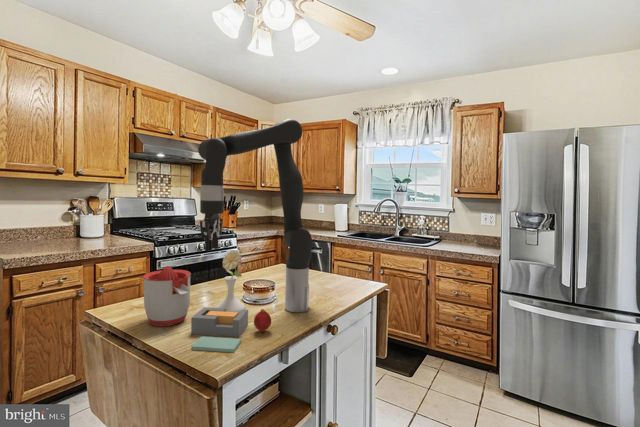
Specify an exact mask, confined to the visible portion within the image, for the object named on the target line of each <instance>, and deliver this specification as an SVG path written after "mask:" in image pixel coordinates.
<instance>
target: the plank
mask: <svg viewBox="0 0 640 427" xmlns="http://www.w3.org/2000/svg"><path fill="white" fill-rule="evenodd" d="M206 315H207V316H218V323H228V324H233V320H234V318H235V317H236V316H237V315H238V312H224V311H209V312H208V313H207V314H206Z"/></svg>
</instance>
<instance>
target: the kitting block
mask: <svg viewBox="0 0 640 427" xmlns="http://www.w3.org/2000/svg"><path fill="white" fill-rule="evenodd" d="M209 311H224V312H226V308H216V307H210V306H209V307H206V306H205V307H203V308H201V309H200V310H199V311H198V312H196V314H194V315H193V316H191V317H190V318H191V319H190V320H191V321H190V322H191V325H190V328H191V330H190V331H191V334H192V335H204V336H206V335H208V336H216V337H217V336H220V337H232V338H233V337H234V338H235V337H236V338H239V337H240V336H241V335H242V334H243V332H244V331H245V329H246V328H247V327H248V326H249V309H245V310H244V309H243V310H242V311H241V312H240V313H239V314H238V315H237V316H236V317H235V318H234V320H233V324H228V323H218V316H207V315H206V314H207V313H208V312H209Z"/></svg>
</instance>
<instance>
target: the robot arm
mask: <svg viewBox="0 0 640 427" xmlns="http://www.w3.org/2000/svg"><path fill="white" fill-rule="evenodd" d="M302 136H303V127H302V125H301V123H300V122H299V121H298V120H296V119H294V118H287V119H284V120H280V121H278V122H276V123H275V124H274V125H272V126H268V127H264V128H260V129H259V128H258V129H253V130H246V131H241V132H236V133H233V134H229V135H227V136H222V137H213V138H207V139H204V140H203V141H201V142H200V144H199V145H198V148H197V152H198V154H199V156H200V157H201V158H202V159H204V160H205V165H204V167H203V169H201V173H200V176H201V177H200V192H199V197H200V199H199V200H200V202H199V203H200V204H199V205H200V206H199V210H200V212H199V213H201V214H204V218H203V220H200V221H199V226H200V228H199V229H200V236H201V239H203V240H204V251H205V252H212V251H213V250H214V249H215V250H218V248H219V238H220V236H221V235H222V231H223V223H224V219H223V217H222V218H221V217H220V215H221V214H224V211H225V208H224V207H225V192H224V190H225V189H224V170H225V167H226V163H227V157H228V156H236V155H240V154H246V153H250V152H253V151H256V150H259V149H262V148H265V147H268V146H273V148H274V152H275V156H276V165H277V173H278V182H279V190H280V198H281V200H280V201H281V206H282V213H283V236H284V242H285V244H286V246H288V247H289V255H288V258H287V259H286V261H285V296H284V298H285V299H284V301H285V302H284V308H285V309H284V310H286V312H291V313H303V312H308V310H309V301H310V297H309V296H310V283H309V280H310V279H309V278H310V277H309V275H310V274H309V272H310V261H311V259H312V249H313V248H312V246H313V244H312V243H313V242H312V241H313V240H312V235H311V233H310V231H309V230H307V229H306V228H304V227H303V223H302V206H303V202H304V201H303V200H304V196H305V194H304V184H303V183H304V182H303V177H302V173H301V171H300V170H299V168H298V166H297V164H296V161H295V160H294V158H293V150H292V144H296V143H297V142H299V140H301V138H302Z"/></svg>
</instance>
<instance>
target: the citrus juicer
mask: <svg viewBox="0 0 640 427" xmlns="http://www.w3.org/2000/svg"><path fill="white" fill-rule="evenodd" d="M191 275H192V273H191V272H190V271H188V270H187V269H186V270H185V269H173V268H172V267H171V266H168V265H166V266H165V267H164V268H162V270H160V269H159V270H156V271H151V272H147V273H145V274H144V275H143V276H142V278H143V303H144V304H143V305H144V310H145V314H146V318H147V320H148V322H149V324H150V325H152V326H154V327H155V326H156V327H163V328H164V327H165V328H167V327H169V326H173V325H177V324H179V323H182V322H183V321H184V320H185V319H186V317H187V316H188V312H189V308H190V302H191Z"/></svg>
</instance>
